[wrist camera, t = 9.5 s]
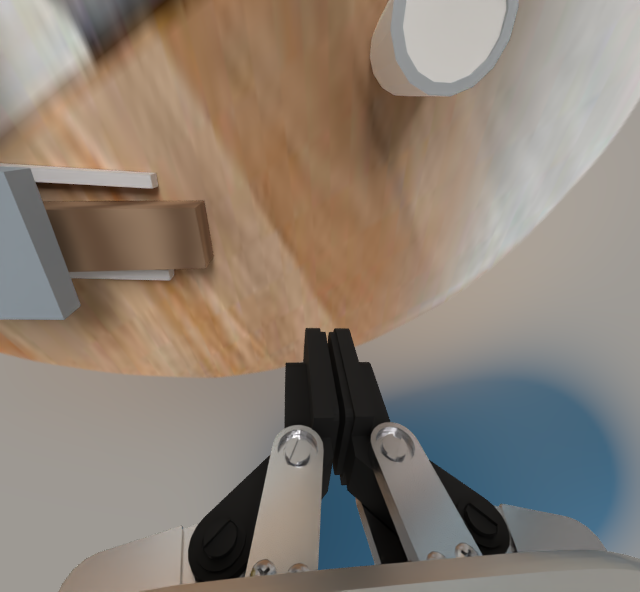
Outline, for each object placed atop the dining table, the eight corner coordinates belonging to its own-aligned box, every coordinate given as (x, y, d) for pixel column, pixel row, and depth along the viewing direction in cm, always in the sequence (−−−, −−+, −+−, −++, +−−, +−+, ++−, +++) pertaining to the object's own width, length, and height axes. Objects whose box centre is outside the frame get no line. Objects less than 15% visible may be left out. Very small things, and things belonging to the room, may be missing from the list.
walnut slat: (204, 200, 25) (194, 208, 22) (213, 255, 28) (206, 268, 25) (-15, 201, 24) (-53, 210, 21) (16, 260, 26) (-15, 274, 23)
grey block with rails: (154, 166, 23) (108, 178, 17) (175, 279, 28) (144, 320, 22) (-63, 151, 22) (-200, 159, 15) (-1, 275, 26) (-88, 318, 20)
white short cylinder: (450, 97, 23) (509, 85, 17) (364, 113, 23) (393, 106, 17) (457, -24, 20) (533, -94, 14) (357, -6, 20) (388, -69, 14)
